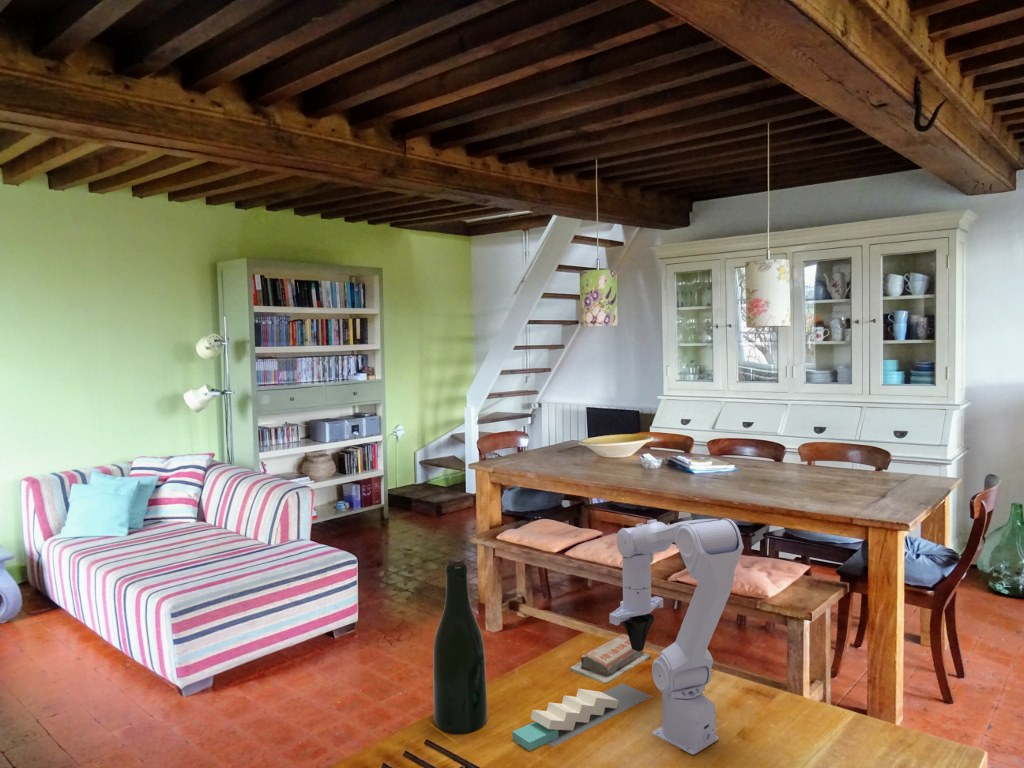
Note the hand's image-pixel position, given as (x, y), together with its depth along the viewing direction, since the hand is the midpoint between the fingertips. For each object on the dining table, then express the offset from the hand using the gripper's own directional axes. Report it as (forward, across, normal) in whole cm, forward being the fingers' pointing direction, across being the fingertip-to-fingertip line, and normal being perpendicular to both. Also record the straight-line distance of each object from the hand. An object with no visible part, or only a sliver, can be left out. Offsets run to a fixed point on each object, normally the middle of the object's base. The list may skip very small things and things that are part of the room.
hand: (637, 649), depth 153 cm
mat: (+10, +12, -2) cm, 16 cm away
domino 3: (+9, +15, -2) cm, 18 cm away
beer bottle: (+11, +33, -17) cm, 39 cm away
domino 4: (+9, +11, -2) cm, 14 cm away
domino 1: (+9, +23, -2) cm, 25 cm away
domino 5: (+9, +7, -2) cm, 12 cm away
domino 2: (+9, +19, -2) cm, 21 cm away
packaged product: (+11, -7, -14) cm, 19 cm away
